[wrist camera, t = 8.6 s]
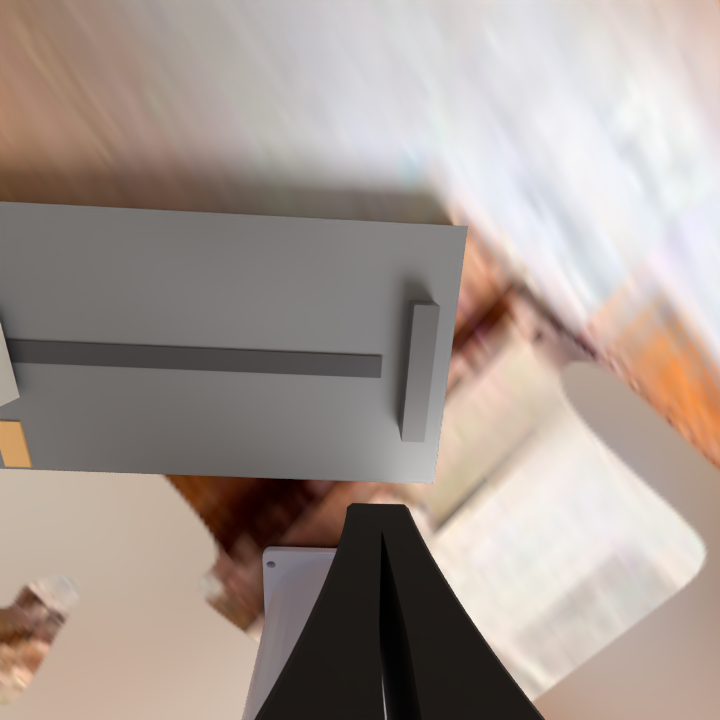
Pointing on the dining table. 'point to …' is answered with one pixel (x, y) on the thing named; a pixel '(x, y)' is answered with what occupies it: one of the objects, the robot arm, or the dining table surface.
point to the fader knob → (6, 374)
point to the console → (225, 343)
